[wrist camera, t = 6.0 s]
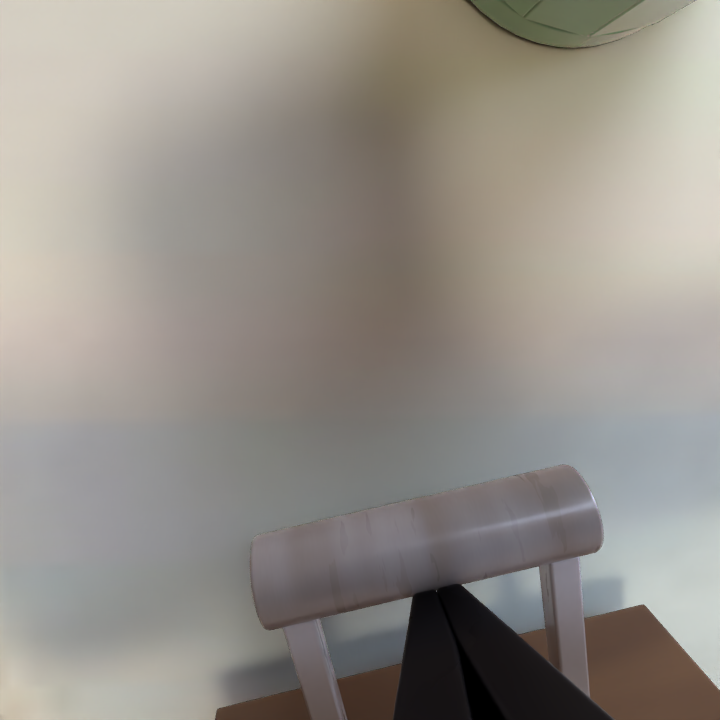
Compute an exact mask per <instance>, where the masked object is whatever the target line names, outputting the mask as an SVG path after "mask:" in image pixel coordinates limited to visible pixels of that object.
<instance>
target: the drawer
mask: <svg viewBox="0 0 720 720" xmlns="http://www.w3.org/2000/svg"><path fill="white" fill-rule="evenodd" d="M602 544H603V525H602V520H601V516H600V512H599V509H598V506H597V503H596V501H595V498H594V496H593V494H592V492H591V490H590V488H589V486H588V485H587V483H586V482H585V480H584V479H583V477H582V476H581V475H580V474H579V473H578V471H577V470H575V469H574V468H573V467H571V466H569V465H563V464H562V465H558V466H554V467H549V468H545V469H541V470H536V471H532V472H528V473H523V474H519V475H515V476H510V477H506V478H502V479H497V480H493V481H489V482H484V483H480V484H476V485H471V486H467V487H462V488H458V489H454V490H449V491H445V492H441V493H436V494H432V495H428V496H423V497H419V498H415V499H410V500H406V501H402V502H397V503H393V504H389V505H384V506H380V507H376V508H371V509H367V510H363V511H358V512H354V513H350V514H345V515H341V516H337V517H332V518H328V519H324V520H319V521H315V522H311V523H306V524H302V525H298V526H293V527H289V528H285V529H280V530H276V531H272V532H267V533H263V534H259V535H257V536H255V537H254V538H253V540H252V544H251V549H250V580H251V588H252V595H253V600H254V604H255V608H256V612H257V615H258V617H259V620H260V622H261V624H262V626H263V627H264V628H265V629H266V630H274V629H278V628H283V630H284V633H285V636H286V640H287V643H288V646H289V650H290V653H291V656H292V659H293V663H294V666H295V669H296V673H297V676H298V679H299V683H300V686H301V688H299V689H295V690H291V691H287V692H283V693H279V694H275V695H271V696H267V697H263V698H259V699H255V700H251V701H246V702H242V703H238V704H234V705H230V706H226V707H222V708H219V709H217V712H216V718H215V720H393V714H394V708H395V702H396V696H397V690H398V684H399V677H400V671H401V665H402V663H401V664H397V665H393V666H389V667H385V668H381V669H377V670H373V671H369V672H365V673H361V674H357V675H352V676H348V677H344V678H340V679H336V676H335V672H334V668H333V665H332V661H331V657H330V654H329V650H328V646H327V643H326V639H325V635H324V632H323V628H322V624H321V621H320V618H324V617H329V616H333V615H337V614H341V613H345V612H349V611H354V610H358V609H362V608H366V607H370V606H375V605H379V604H383V603H387V602H391V601H395V600H400V599H404V598H408V597H412V596H414V594H416V593H419V592H424V591H428V590H432V589H434V590H435V591H437V590H438V588H440V587H444V586H448V585H452V584H457V583H458V584H460V585H462V584H466V583H471V582H475V581H479V580H483V579H487V578H492V577H496V576H500V575H504V574H508V573H512V572H517V571H521V570H525V569H529V568H533V567H538V566H539V570H540V580H541V589H542V599H543V608H544V618H545V628H544V629H540V630H536V631H532V632H528V633H524V634H520V635H519V636H520V637H521V638H522V639H523V640H525V641H526V642H527V643H528V644H529V645H530V646H531V647H533V648H534V649H535V650H536V651H537V652H538V653H539V654H541V655H542V656H543V657H544V658H545V659H546V660H547V661H549V662H550V663H551V664H552V665H553V666H554V667H555V668H557V669H558V670H559V671H560V672H561V673H562V674H563V675H565V676H566V677H567V678H568V679H569V680H570V681H571V682H573V683H574V684H575V685H576V686H577V687H578V688H579V689H581V690H582V691H583V692H584V693H585V694H586V695H587V696H589V697H590V698H591V699H592V700H593V701H594V702H595V703H597V704H598V705H599V706H600V707H601V708H602V709H603V710H605V711H606V712H607V713H608V714H609V715H610V716H611V717H613V718H614V719H615V720H720V690H719V689H718V688H717V687H716V686H715V685H714V683H713V682H712V681H711V680H710V679H709V678H708V677H707V675H706V674H705V673H704V672H703V671H702V670H701V669H700V667H699V666H698V665H697V664H696V663H695V662H694V661H693V659H692V658H691V657H690V656H689V655H688V654H687V653H686V652H685V650H684V649H683V648H682V647H681V646H680V645H679V644H678V642H677V641H676V640H675V639H674V638H673V637H672V636H671V634H670V633H669V632H668V631H667V630H666V629H665V628H664V627H663V625H662V624H661V623H660V622H659V621H658V620H657V619H656V617H655V616H654V615H653V614H652V613H651V612H650V611H649V609H648V608H647V607H646V606H645V605H638V606H634V607H630V608H626V609H622V610H618V611H614V612H609V613H605V614H601V615H597V616H593V617H589V618H585V619H584V611H583V598H582V584H581V571H580V558H579V556H583V555H588V554H592V553H595V552H597V551H598V550H599V549H600V548H601V547H602Z"/></svg>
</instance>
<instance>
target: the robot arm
mask: <svg viewBox="0 0 720 720" xmlns="http://www.w3.org/2000/svg"><path fill="white" fill-rule="evenodd" d="M393 720H615V719H614V718H613V717H611V716H610V715H609V714H608V713H607V712H606V711H605V710H603V709H602V708H601V707H600V706H599V705H598V704H597V703H595V702H594V701H593V700H592V699H591V698H590V697H589V696H587V695H586V694H585V693H584V692H583V691H582V690H581V689H579V688H578V687H577V686H576V685H575V684H574V683H573V682H571V681H570V680H569V679H568V678H567V677H566V676H565V675H563V674H562V673H561V672H560V671H559V670H558V669H557V668H555V667H554V666H553V665H552V664H551V663H550V662H549V661H547V660H546V659H545V658H544V657H543V656H542V655H541V654H539V653H538V652H537V651H536V650H535V649H534V648H533V647H531V646H530V645H529V644H528V643H527V642H526V641H525V640H523V639H522V638H521V637H520V636H519V635H518V634H517V633H515V632H514V631H513V630H512V629H511V628H510V627H509V626H507V625H506V624H505V623H504V622H503V621H502V620H501V619H499V618H498V617H497V616H496V615H495V614H494V613H493V612H491V611H490V610H489V609H488V608H487V607H486V606H485V605H483V604H482V603H481V602H480V601H479V600H478V599H477V598H475V597H474V596H473V595H472V594H471V593H470V592H469V591H467V590H466V589H465V588H464V587H463V586H462V585H460V584H458V583H457V584H452V585H448V586H444V587H440V588H438V590H437V592H436V591H435V590H434V589H432V590H428V591H424V592H419V593H416V594H414V596H413V599H412V605H411V611H410V617H409V623H408V629H407V635H406V641H405V647H404V653H403V659H402V665H401V671H400V677H399V684H398V690H397V696H396V702H395V708H394V714H393Z"/></svg>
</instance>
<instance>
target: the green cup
mask: <svg viewBox="0 0 720 720" xmlns="http://www.w3.org/2000/svg"><path fill="white" fill-rule="evenodd" d="M470 1H471V2H472V3H473V4H474V5H475V6H476V7H477V8H478V9H479V10H480V11H481V12H482V13H483V14H485V15H486V16H487V17H489V18H490V19H491V20H493V21H494V22H495V23H496V24H498V25H499V26H501V27H503V28H505V29H506V30H508V31H510V32H512V33H514V34H515V35H517V36H520V37H523V38H526V39H528V40H531V41H534V42H536V43H541V44H546V45H551V46H556V47H574V48H579V47H588V46H597V45H601V44H605V43H609V42H612V41H616V40H619V39H622V38H624V37H626V36H628V35H631V34H633V33H635V32H638V31H640V30H641V29H643V28H645V27H646V26H649V25H653V24H655V23H658V22H660V21H661V20H663V19H665V18H667V17H668V16H670V15H672V14H673V13H675V12H677V11H679V10H680V9H682V8H684V7H686V6H687V5H689V4H691V3H693V2H694V1H696V0H470Z"/></svg>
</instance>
